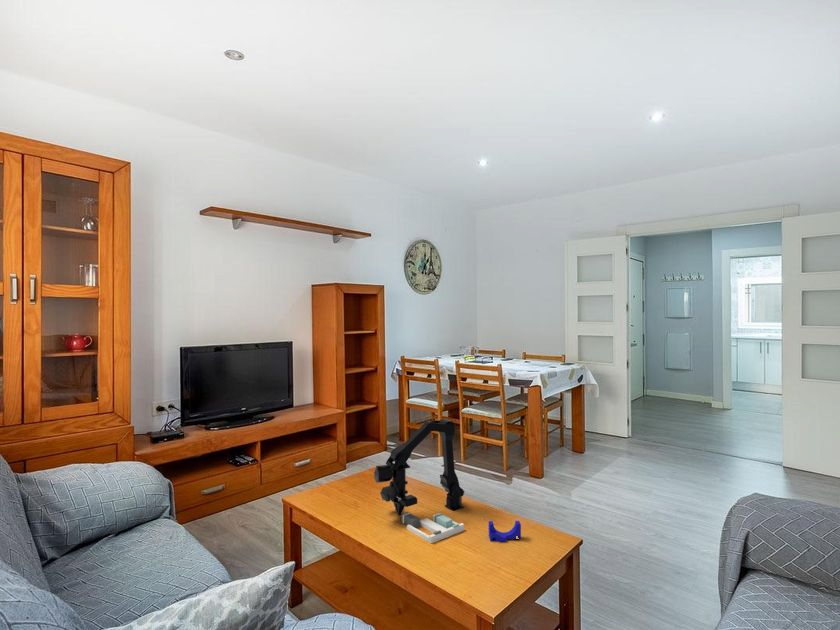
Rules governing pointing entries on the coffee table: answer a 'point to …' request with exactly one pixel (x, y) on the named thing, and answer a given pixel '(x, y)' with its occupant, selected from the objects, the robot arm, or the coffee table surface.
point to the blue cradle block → (503, 536)
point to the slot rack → (436, 530)
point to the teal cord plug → (442, 520)
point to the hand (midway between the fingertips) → (399, 515)
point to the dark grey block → (410, 519)
